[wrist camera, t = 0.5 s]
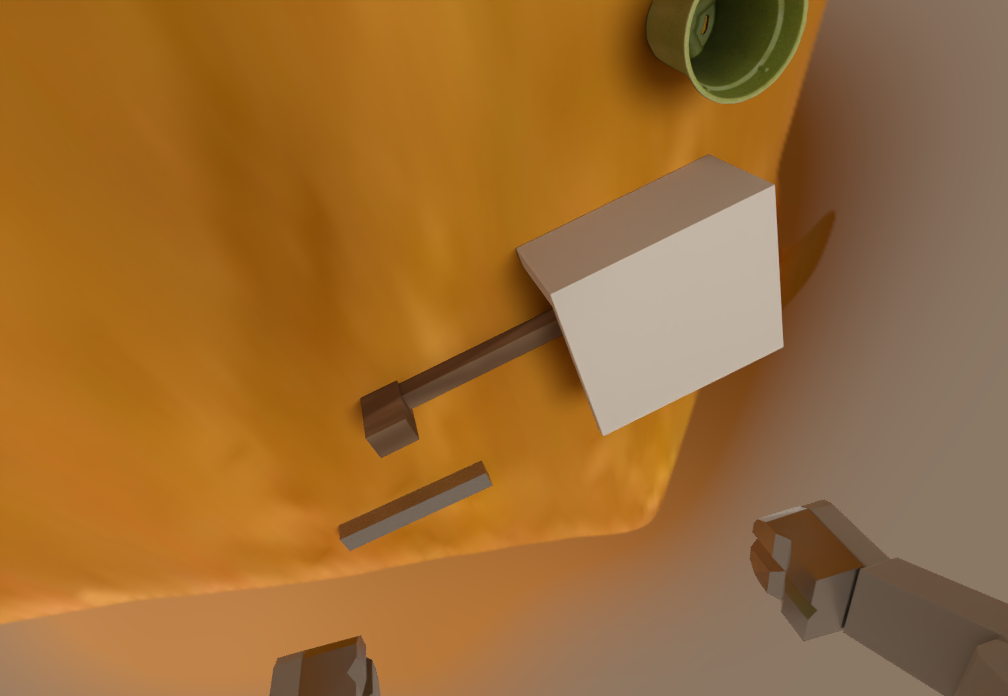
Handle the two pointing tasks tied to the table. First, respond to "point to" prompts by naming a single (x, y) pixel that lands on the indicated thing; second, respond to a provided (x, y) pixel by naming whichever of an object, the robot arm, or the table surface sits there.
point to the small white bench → (664, 287)
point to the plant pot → (727, 42)
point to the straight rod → (414, 506)
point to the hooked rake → (445, 382)
